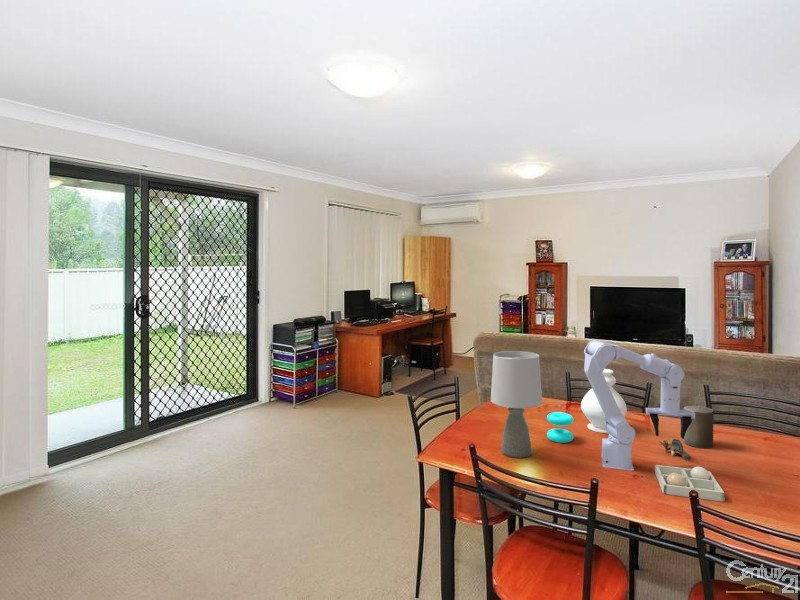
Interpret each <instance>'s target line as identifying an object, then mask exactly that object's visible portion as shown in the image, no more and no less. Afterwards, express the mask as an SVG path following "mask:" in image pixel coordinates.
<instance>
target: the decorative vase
mask: <svg viewBox="0 0 800 600" xmlns="http://www.w3.org/2000/svg"><path fill="white" fill-rule="evenodd" d="M602 373H603V375H604V378H605V380H606V382H607V384H608V386H609V388H610V390H611V393H612V395H613V397H614V399H615V401H616V403H617V406H618V408H619V410H620V412H621V414H622V415H623V416H624V418H626V415H627V412H628V411H627V410H628V409H627V408H628V407H627V405H626V402H625V400H624V398H623V397H622V396H621V394H619V392H618V391H617V390H615V388H614V387H613V386H614V385H615V384H616V382H617V380H616V378H615V376H614V370H612V369H609V368H604V370H603V372H602ZM612 374H613V375H612ZM580 409H581V411H582V413H583V415H584V416H585V418H587V420H588V421H589V422H590V423H588V424H587V428H588V429H589V430H591V431H592V432H596V433H600V434H609V433H608V432H607V430H606V427H605V424H606V423H605V420H604V417H605V414H604V412H603V410H602V408H601V406H600V404H599V402H598V399H597V397H596V395H595V393H594V391H593V389H592V388H591V389H590V390H588V391H587V392H586V394H585V395H584V396H583V397H582V400H581V402H580Z"/></svg>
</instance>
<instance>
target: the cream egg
mask: <svg viewBox="0 0 800 600" xmlns="http://www.w3.org/2000/svg"><path fill="white" fill-rule="evenodd" d="M691 469H692V470H691V473H690V474H691V477H692V478H697V479H705V480H709V473H708V471H709V470H707V469H706V468H704V467H702V466H694V467H693V468H691Z"/></svg>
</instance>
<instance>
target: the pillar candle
mask: <svg viewBox="0 0 800 600" xmlns="http://www.w3.org/2000/svg"><path fill="white" fill-rule="evenodd" d="M683 410H686V411H694V412H695V419H694V418H691V419H692V422H691V424H690V425H689V427H688V429H687V431H686V433H685V437H684V439H683V443H684V442H685V443H686V444H685V443H684V444H685V445H687V444H688V446H690V445H691V446H690V447H695V448H698V449H711V448H713V447H714V413H715V412H714V410H713V409H712V408H710V407H706V406H701V405H685V406H684V407H683ZM712 446H713V447H712Z"/></svg>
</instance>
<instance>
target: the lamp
mask: <svg viewBox="0 0 800 600" xmlns="http://www.w3.org/2000/svg"><path fill="white" fill-rule="evenodd" d="M540 363H541V362H540V355H539V354H537V353H536V352H531V351H522V350H521V351H520V350H506V351H503V350H502V351H499V352H494V353H493V355H492V374H491V388H490V391H491V392H490V402H492V404H494V405H496V406H499V407H503V408H507V411H508V412H509V414H508V415H507V418H506V420H505V423H504V427H503V433H502V439H501V446H500V447H501V448H500V449H501V453H502V454H503V455H505V456H507V457H509V458H516V459H523V458H527V457H531V455H532V453H533V452H532V451H533V450H532V441H531V437H530V436H531V435H530V430H529V426H528V422H527V420H526V417H525V415H524V412H525V411H526V410H525V409H531V408H537V407H539V406H541V405H542V404H543V394H542V393H543V392H542V378H541V367H540V366H541V365H540Z"/></svg>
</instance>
